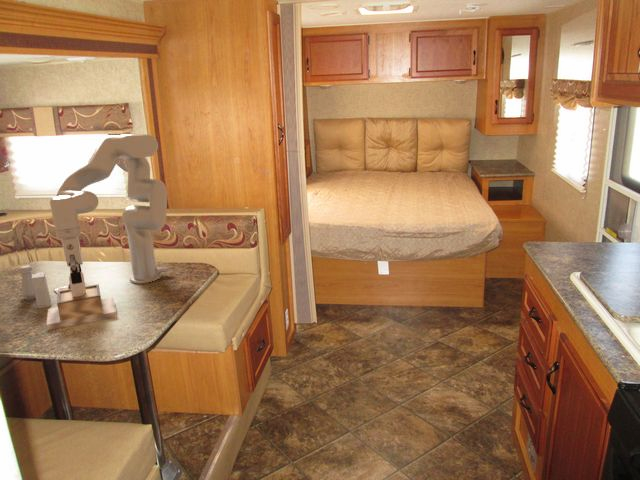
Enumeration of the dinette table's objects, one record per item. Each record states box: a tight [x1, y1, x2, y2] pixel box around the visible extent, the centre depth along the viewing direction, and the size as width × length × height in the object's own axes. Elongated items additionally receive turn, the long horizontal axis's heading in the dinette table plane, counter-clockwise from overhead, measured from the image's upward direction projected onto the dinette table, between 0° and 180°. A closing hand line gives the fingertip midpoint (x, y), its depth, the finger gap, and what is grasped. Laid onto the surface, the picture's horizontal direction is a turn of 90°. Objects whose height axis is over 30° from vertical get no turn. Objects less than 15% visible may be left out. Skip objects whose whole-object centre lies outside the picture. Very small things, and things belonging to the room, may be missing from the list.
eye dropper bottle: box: [68, 266, 86, 297], centre depth 181 cm, size 4×6×12 cm
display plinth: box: [46, 283, 118, 331], centre depth 183 cm, size 22×14×9 cm, turn 115°
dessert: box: [53, 282, 90, 294], centre depth 206 cm, size 12×12×5 cm
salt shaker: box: [18, 264, 36, 301], centre depth 199 cm, size 6×6×13 cm
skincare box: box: [31, 271, 52, 309], centre depth 193 cm, size 6×4×12 cm
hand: (77, 278), depth 181 cm, fingers open, 9 cm apart
